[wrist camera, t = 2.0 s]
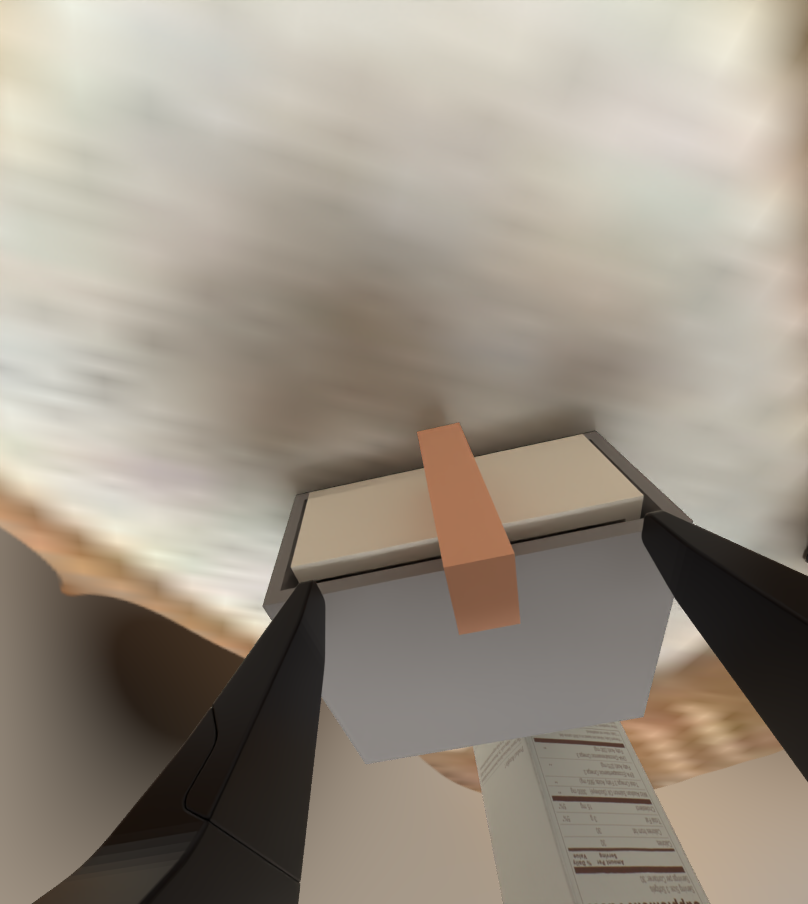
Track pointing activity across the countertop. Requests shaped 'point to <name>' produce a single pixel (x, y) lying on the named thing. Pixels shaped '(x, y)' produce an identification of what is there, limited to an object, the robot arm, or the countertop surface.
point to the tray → (512, 488)
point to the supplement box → (580, 822)
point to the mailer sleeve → (493, 640)
